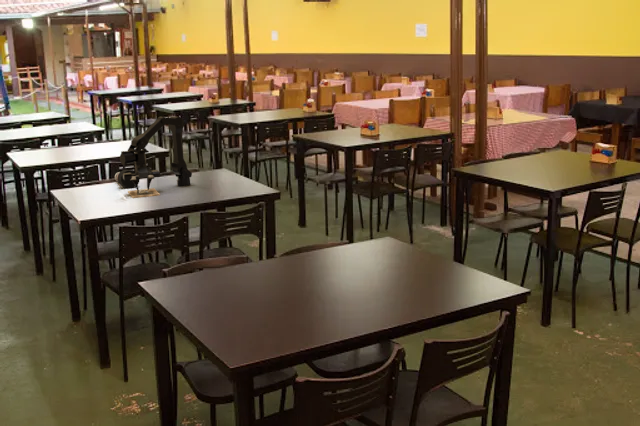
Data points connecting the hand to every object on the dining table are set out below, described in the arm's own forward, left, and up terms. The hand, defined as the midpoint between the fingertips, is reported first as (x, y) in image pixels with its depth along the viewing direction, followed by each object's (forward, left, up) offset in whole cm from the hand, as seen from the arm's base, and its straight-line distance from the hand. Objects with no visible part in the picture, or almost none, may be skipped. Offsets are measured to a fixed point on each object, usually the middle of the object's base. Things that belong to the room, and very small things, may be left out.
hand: (143, 190), depth 368 cm
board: (0, +2, -3) cm, 3 cm away
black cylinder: (+5, -37, -3) cm, 38 cm away
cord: (0, 0, -1) cm, 1 cm away
